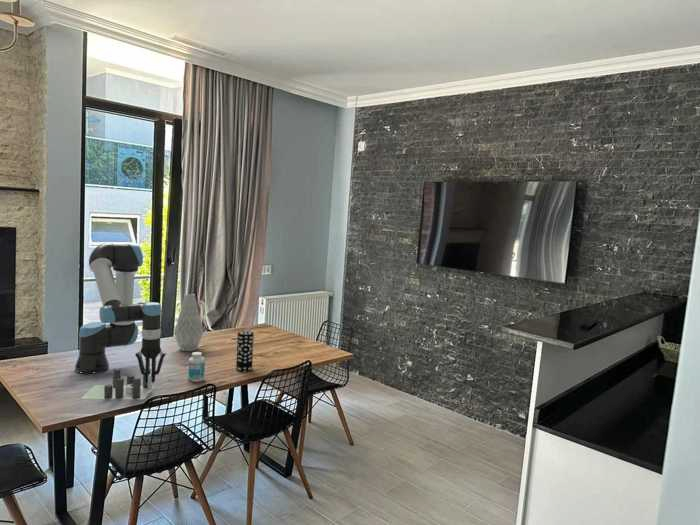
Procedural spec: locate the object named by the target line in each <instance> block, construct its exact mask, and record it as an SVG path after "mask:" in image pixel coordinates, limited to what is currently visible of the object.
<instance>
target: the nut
mask: <svg viewBox="0 0 700 525" xmlns="http://www.w3.org/2000/svg"><path fill="white" fill-rule="evenodd" d="M126 385H127V384H126ZM132 391H133V384H128V385H127V387H126V393H127V394H131V395H132Z"/></svg>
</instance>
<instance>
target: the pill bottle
mask: <svg viewBox="0 0 700 525" xmlns="http://www.w3.org/2000/svg"><path fill="white" fill-rule="evenodd" d="M202 355H203V352H200V351H195V352H193V351H192V353H191V357H189V359H188V381H189V382H192V383H199V382H202V381H204V379H205V360H206V359H205V357H203V356H202Z"/></svg>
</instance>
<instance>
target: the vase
mask: <svg viewBox="0 0 700 525" xmlns="http://www.w3.org/2000/svg"><path fill="white" fill-rule="evenodd" d="M176 321H177V322H176V324H175V327H174V330H173V335H174V337H175V341H176V343H177V345H178V347H179V349H180V351H182V352H193V351H196V350H197V348H198V346H199V344H200V342H201V341H202V337H203V335H204V328H203V326H202V320H201V317H200V312H199V308H198V303H197V299H196V295H195V294H194V293H187V294H184V297H183V300H182V304H181V308H180V311H179V315H178V318H177V320H176Z"/></svg>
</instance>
